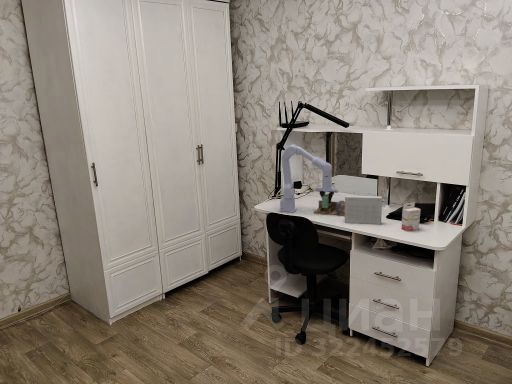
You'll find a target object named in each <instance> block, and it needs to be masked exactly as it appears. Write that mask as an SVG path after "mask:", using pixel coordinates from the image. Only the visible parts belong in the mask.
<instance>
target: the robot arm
mask: <svg viewBox="0 0 512 384" xmlns="http://www.w3.org/2000/svg"><path fill="white" fill-rule="evenodd" d="M294 155H295V156H302V157H304V158H305V159H307V160H309V161H310V162H311V164H312V165H313V166H314V167H316V168H317V169H320V170H321V172H322V180H321V181H322V187H316V188H315V192H318V194H319V195H320V198H321V199H322V197H323V196H324V195H325V194H326V193H328V194H329V203H331V201H332V199H333V197H334V195H335V193H336V194H338V193H339V189H337V188H332V170H333V167H332V165H331V163H330V162H327V161H325V160H323V159H322V157H320V156H313V155H312V154H311V153H309V152H308V151H306V150H305V149H304V148H302V147H300V146H298V145H297V144H295V143H292V144H290V145H288V146H287V147H286V148H285V149H284V152H283V154H281V157H280V158H281V166H282V174H283V181H284V183H283V185H284V186H283V197H281V198H280V200H279V212H282V213H283V212H285V213H294V212H296V211H298V209H297V208H296V205H295V204H296V201H295V200H296V198H295V193H296V189H295V188H294V185H293V182H292V181H293V180H292V171H291V165H290V159H291V158H292V157H293V156H294Z"/></svg>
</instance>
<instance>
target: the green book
mask: <svg viewBox="0 0 512 384" xmlns="http://www.w3.org/2000/svg"><path fill="white" fill-rule="evenodd" d="M321 201H322V208H328V207H329V206H330V205H331V203H329V193H325V195H324V196H323V197H322V198H321Z"/></svg>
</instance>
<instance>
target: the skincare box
mask: <svg viewBox="0 0 512 384" xmlns="http://www.w3.org/2000/svg"><path fill="white" fill-rule="evenodd" d="M344 202H345V216H344V223H346V224H365V225H367V224H368V225H381V224H382V215H383V214H382V211H383V210H382V209H383V208H382V206H383V196H377V195H376V196H375V195H345V196H344Z"/></svg>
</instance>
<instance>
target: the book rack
mask: <svg viewBox="0 0 512 384" xmlns="http://www.w3.org/2000/svg"><path fill="white" fill-rule="evenodd" d="M313 214H315V215H317V214H318V215H327V216H335V217H345V200H339V201H332V200H331V205H330V206H329V207H328V208H322V199H321V200H318V208H317V209H316V210H314V211H313Z"/></svg>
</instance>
